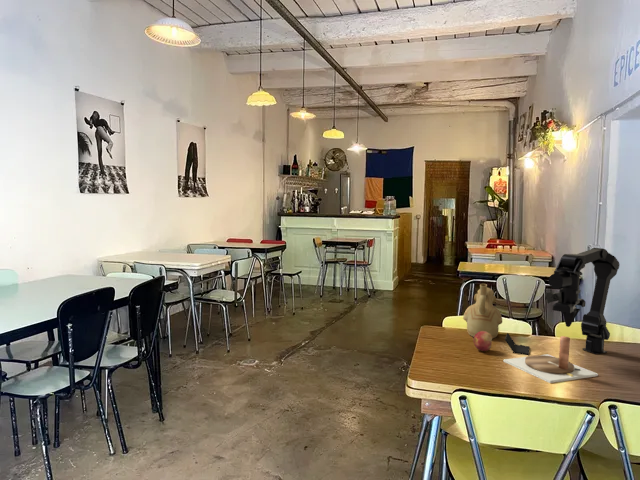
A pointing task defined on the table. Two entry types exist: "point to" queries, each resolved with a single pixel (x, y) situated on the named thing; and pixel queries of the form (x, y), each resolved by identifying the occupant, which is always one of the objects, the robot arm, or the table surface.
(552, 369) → the dial
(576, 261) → the robot arm
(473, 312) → the ceramic vessel
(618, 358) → the table surface
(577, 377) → the dial plate
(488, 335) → the fruit
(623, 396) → the table surface
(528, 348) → the handheld gaming console
